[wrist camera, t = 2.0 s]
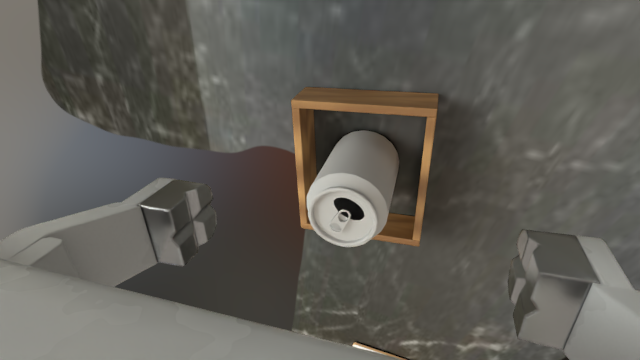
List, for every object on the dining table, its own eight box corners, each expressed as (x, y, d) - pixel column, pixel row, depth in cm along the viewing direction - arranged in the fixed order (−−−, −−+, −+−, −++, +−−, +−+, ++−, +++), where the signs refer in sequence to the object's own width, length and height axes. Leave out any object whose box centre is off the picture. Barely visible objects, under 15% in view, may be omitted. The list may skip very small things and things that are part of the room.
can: (414, 152, 39) (403, 217, 29) (375, 197, 43) (354, 267, 33) (356, 114, 39) (325, 166, 29) (323, 163, 43) (286, 223, 33)
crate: (305, 86, 39) (291, 100, 35) (438, 93, 35) (437, 109, 32) (312, 207, 47) (300, 228, 43) (421, 222, 43) (419, 246, 39)
